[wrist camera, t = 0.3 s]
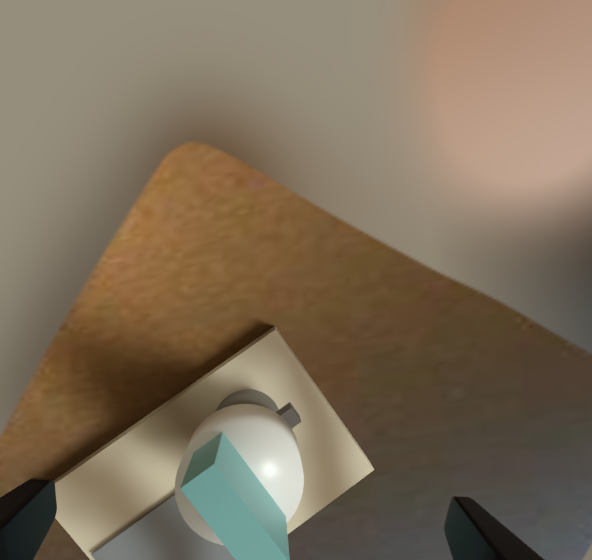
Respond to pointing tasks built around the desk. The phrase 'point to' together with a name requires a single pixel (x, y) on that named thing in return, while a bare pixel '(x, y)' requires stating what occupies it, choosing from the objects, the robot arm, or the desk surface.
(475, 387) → the desk surface
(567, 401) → the desk surface
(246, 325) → the desk surface
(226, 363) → the board
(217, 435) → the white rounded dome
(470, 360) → the desk surface
